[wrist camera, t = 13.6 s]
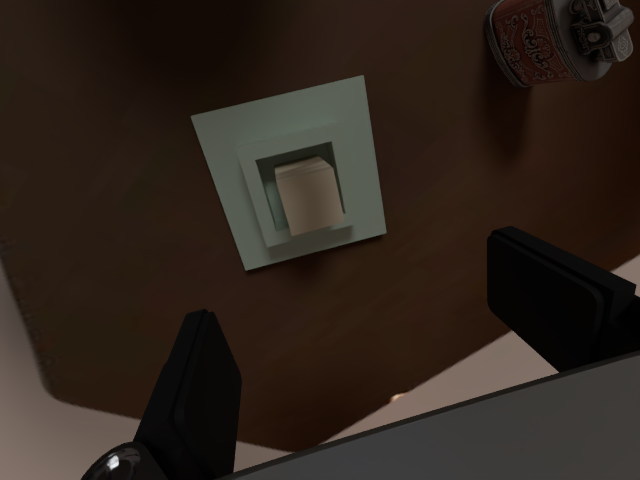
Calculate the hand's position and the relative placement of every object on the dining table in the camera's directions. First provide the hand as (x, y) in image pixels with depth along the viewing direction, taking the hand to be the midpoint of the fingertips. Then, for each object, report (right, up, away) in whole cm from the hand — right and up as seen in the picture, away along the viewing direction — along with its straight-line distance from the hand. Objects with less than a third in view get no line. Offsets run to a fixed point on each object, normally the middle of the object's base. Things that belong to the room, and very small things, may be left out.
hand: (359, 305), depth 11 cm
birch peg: (-3, +8, +19) cm, 21 cm away
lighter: (+16, +20, +19) cm, 32 cm away
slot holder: (-3, +8, +20) cm, 22 cm away
